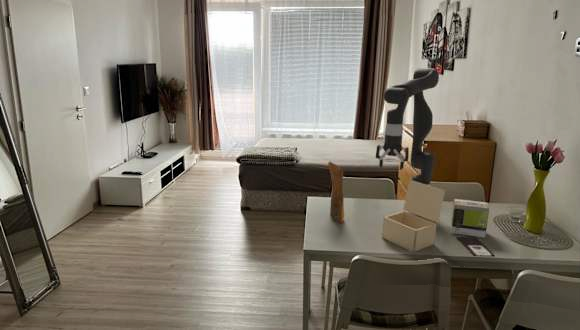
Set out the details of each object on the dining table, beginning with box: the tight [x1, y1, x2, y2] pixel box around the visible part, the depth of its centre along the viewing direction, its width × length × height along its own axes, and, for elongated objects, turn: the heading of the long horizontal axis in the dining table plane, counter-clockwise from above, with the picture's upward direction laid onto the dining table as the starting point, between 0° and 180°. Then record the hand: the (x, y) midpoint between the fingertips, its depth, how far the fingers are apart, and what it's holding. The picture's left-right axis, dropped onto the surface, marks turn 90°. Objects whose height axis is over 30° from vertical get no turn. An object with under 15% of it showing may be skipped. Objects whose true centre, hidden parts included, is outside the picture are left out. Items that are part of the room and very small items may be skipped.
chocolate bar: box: [456, 236, 495, 257], centre depth 189 cm, size 9×1×18 cm
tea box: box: [450, 198, 490, 239], centre depth 202 cm, size 15×10×15 cm, turn 71°
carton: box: [381, 210, 437, 253], centre depth 191 cm, size 14×18×10 cm
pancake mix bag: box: [327, 160, 345, 224], centre depth 214 cm, size 7×19×28 cm, turn 8°
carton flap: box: [402, 179, 446, 223], centre depth 193 cm, size 14×19×1 cm
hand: (391, 168), depth 193 cm, fingers open, 8 cm apart
